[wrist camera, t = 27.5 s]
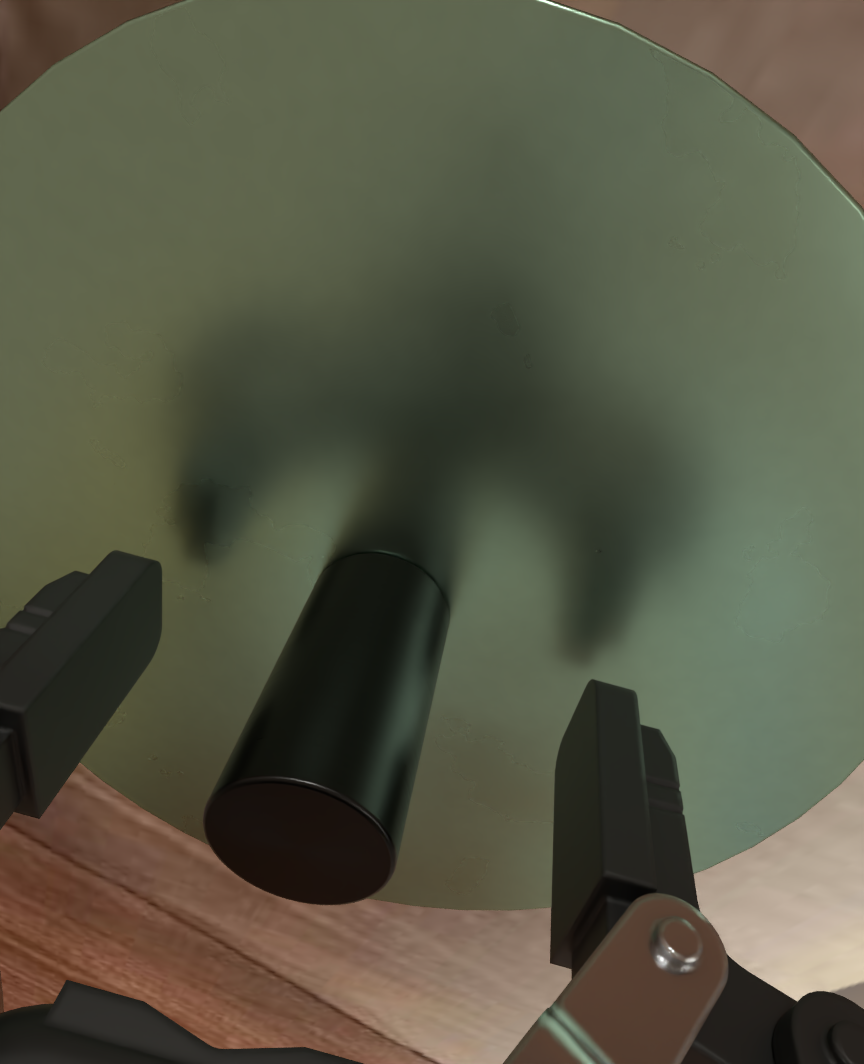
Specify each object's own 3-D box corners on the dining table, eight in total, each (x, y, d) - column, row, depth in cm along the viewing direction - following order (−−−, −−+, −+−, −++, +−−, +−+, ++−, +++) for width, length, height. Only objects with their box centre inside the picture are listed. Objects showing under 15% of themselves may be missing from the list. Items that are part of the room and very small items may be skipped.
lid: (1254, 179, 9) (2119, 317, 4) (674, 941, 20) (711, 1252, 15) (-179, -178, 10) (-1043, -462, 4) (-4, 754, 20) (-202, 992, 15)
